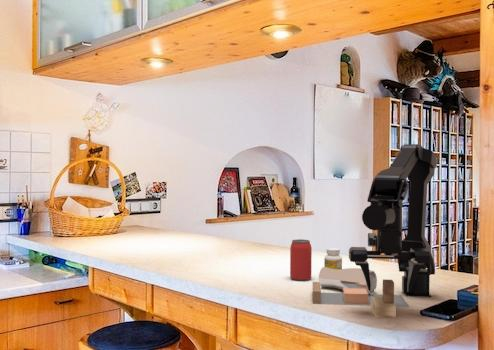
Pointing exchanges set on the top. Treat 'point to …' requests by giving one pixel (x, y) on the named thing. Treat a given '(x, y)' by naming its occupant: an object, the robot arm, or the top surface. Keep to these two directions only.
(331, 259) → the supplement bottle
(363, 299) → the tile
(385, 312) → the two-tone stepped block
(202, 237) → the top surface
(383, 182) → the robot arm
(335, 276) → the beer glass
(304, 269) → the beer can
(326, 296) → the slate board
